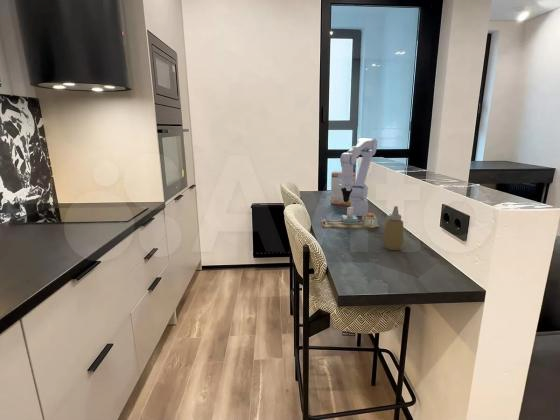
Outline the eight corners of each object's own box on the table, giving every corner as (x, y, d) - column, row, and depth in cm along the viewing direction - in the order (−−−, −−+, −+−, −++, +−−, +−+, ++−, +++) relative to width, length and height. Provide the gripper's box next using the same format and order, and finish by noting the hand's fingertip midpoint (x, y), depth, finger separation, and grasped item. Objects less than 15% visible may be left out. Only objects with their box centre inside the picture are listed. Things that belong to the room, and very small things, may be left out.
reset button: (372, 220, 168) (373, 212, 167) (374, 223, 164) (375, 215, 163) (364, 220, 168) (364, 212, 167) (365, 223, 164) (366, 215, 163)
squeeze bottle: (388, 243, 141) (391, 203, 136) (406, 248, 135) (410, 206, 131) (378, 248, 135) (381, 206, 131) (397, 253, 130) (401, 210, 125)
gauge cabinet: (373, 222, 170) (373, 213, 169) (377, 227, 162) (377, 218, 161) (361, 222, 170) (362, 213, 169) (364, 227, 162) (365, 218, 161)
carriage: (355, 220, 170) (356, 205, 168) (357, 224, 163) (358, 209, 161) (341, 220, 170) (342, 205, 168) (343, 224, 163) (344, 209, 161)
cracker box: (354, 204, 208) (355, 172, 203) (350, 206, 203) (352, 173, 198) (334, 202, 215) (335, 170, 210) (330, 204, 210) (331, 172, 205)
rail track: (375, 222, 170) (375, 217, 170) (379, 227, 162) (379, 222, 161) (321, 222, 172) (321, 217, 171) (322, 227, 163) (322, 222, 163)
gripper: (337, 174, 176) (336, 198, 179) (341, 178, 162) (339, 204, 165) (350, 174, 175) (349, 198, 179) (355, 178, 161) (353, 204, 165)
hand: (345, 201), depth 172 cm, fingers closed
